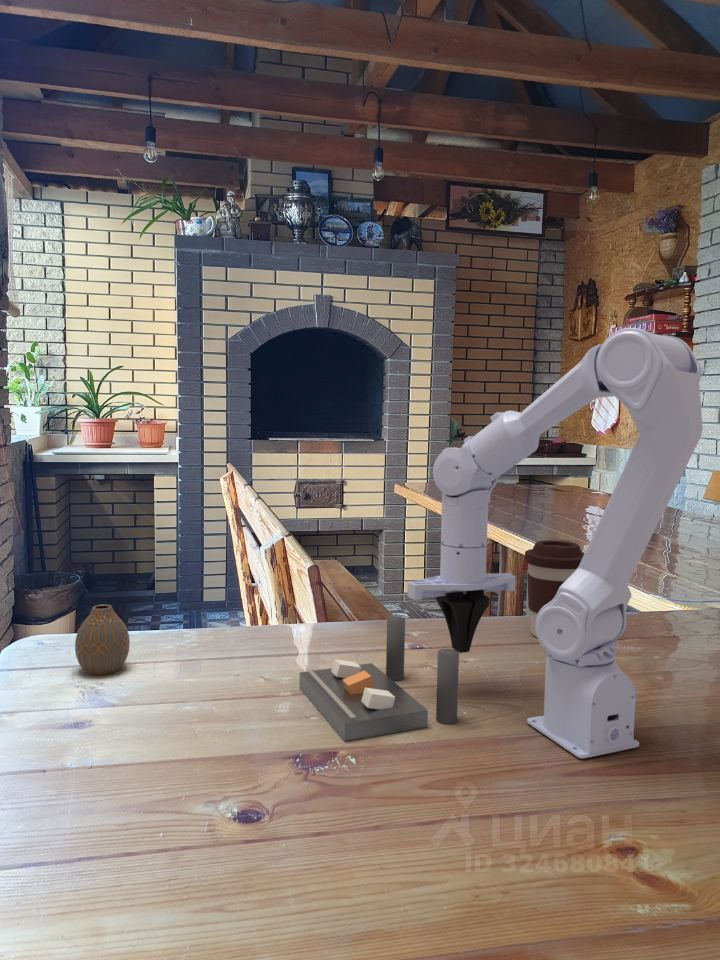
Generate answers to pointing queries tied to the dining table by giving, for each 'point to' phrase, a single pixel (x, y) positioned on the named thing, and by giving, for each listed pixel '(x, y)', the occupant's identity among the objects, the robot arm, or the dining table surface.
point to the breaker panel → (361, 705)
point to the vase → (102, 641)
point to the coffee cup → (549, 572)
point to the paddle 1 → (345, 668)
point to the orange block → (358, 683)
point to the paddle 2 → (377, 698)
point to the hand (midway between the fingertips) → (460, 650)
